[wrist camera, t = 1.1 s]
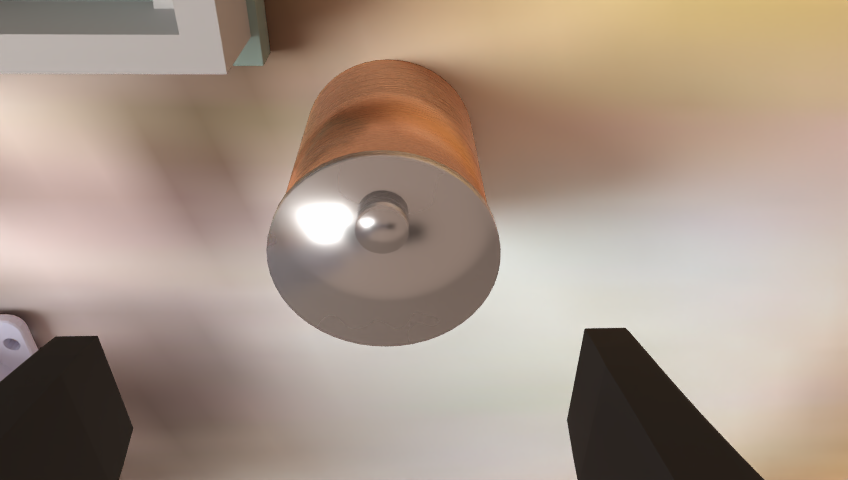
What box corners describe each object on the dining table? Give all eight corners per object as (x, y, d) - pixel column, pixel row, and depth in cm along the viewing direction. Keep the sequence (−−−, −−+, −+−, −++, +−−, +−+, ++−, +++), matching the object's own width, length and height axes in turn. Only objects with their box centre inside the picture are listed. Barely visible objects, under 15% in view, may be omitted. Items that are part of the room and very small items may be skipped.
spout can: (471, 213, 19) (495, 367, 14) (311, 213, 19) (276, 369, 14) (480, 55, 17) (515, 175, 11) (294, 55, 17) (242, 176, 11)
